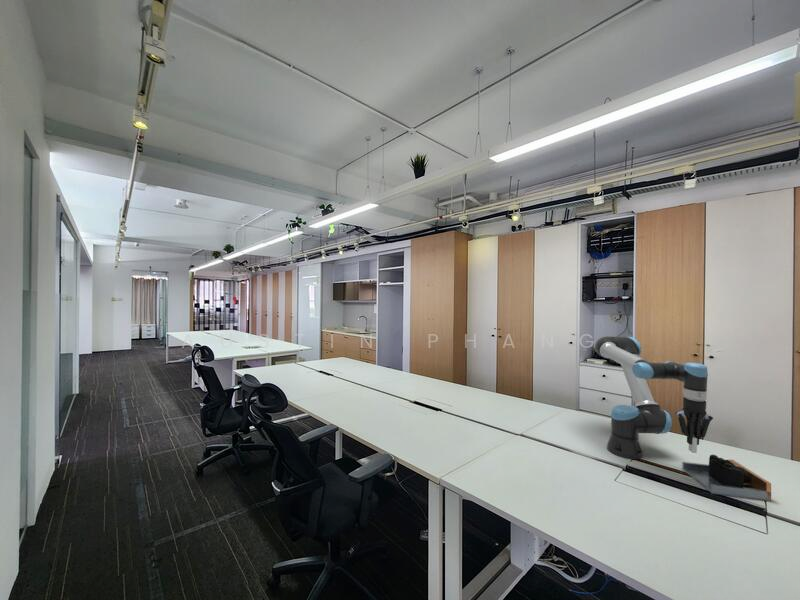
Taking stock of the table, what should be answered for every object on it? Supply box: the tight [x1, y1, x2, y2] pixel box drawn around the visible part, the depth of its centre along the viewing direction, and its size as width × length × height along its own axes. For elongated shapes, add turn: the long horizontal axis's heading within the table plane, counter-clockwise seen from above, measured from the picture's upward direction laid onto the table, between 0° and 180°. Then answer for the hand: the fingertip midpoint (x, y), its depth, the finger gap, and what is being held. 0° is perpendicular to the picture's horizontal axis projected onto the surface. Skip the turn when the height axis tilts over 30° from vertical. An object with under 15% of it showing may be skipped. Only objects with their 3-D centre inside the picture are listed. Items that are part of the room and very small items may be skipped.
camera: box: [708, 454, 750, 487], centre depth 136 cm, size 14×11×10 cm
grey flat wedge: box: [681, 458, 772, 502], centre depth 138 cm, size 20×19×7 cm
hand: (692, 451), depth 141 cm, fingers closed
